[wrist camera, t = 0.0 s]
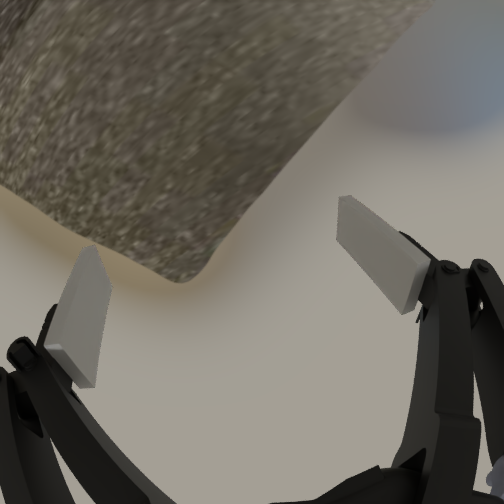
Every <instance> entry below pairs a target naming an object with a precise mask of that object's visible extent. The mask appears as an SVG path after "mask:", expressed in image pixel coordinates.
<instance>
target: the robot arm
mask: <svg viewBox="0 0 504 504" xmlns="http://www.w3.org/2000/svg"><path fill="white" fill-rule="evenodd" d="M336 240H337V241H338V242H339V243H340V245H341V246H342V247H343V248H344V249H345V250H346V251H347V252H348V253H349V254H350V255H351V257H352V258H353V259H354V260H355V261H356V262H357V263H358V264H359V266H360V267H361V268H362V269H363V270H364V271H365V272H366V273H367V274H368V276H369V277H370V278H371V279H372V280H373V282H374V283H375V284H376V285H377V286H378V287H379V288H380V290H381V291H382V292H383V293H384V294H385V295H386V297H387V298H388V299H389V300H390V301H391V303H392V304H393V305H394V306H395V307H396V309H397V310H398V311H399V312H400V314H401V315H403V314H406V313H408V312H410V311H413V310H414V309H415V306H416V303H417V301H418V300H419V301H420V302H421V303H422V304H423V305H422V307H421V310H420V312H419V315H418V318H417V320H416V323H418V321H419V319H420V328H419V341H418V352H417V362H416V370H415V378H414V385H413V391H412V398H411V403H410V408H409V414H408V418H407V423H406V428H405V432H404V436H403V440H402V444H401V446H400V448H399V450H398V452H397V453H396V455H395V458H394V460H393V463H392V466H391V468H383V469H380V467H379V465H377V466H375V467H373V468H371V469H368V470H366V471H364V472H362V473H360V474H357V475H355V476H353V477H351V478H348V479H346V480H345V481H343V482H342V483H340V484H339V485H337V486H336V487H334V488H333V489H331V490H330V491H328V492H327V493H325V494H323V495H322V496H320V497H318V498H317V499H314V500H309V501H298V502H280V503H270V504H504V285H503V283H502V281H501V279H500V278H499V276H498V275H497V273H496V271H495V269H494V268H493V266H492V265H491V264H490V263H488V262H487V261H485V260H483V259H474V260H473V261H472V264H471V266H470V268H468V269H461V268H460V267H459V266H458V265H457V264H455V263H454V262H451V261H448V260H441V261H439V260H437V259H436V258H435V257H434V256H433V255H432V254H430V253H429V252H428V251H427V250H426V249H425V248H423V247H421V245H420V244H419V243H418V242H416V241H415V240H414V239H413V238H411V237H410V236H409V235H407V234H405V233H403V232H401V231H399V232H398V231H397V230H395V229H394V228H393V227H391V226H390V225H389V224H388V223H387V222H385V221H384V220H383V219H382V218H380V217H379V216H378V215H376V214H375V213H374V212H373V211H371V210H370V209H369V208H367V207H366V206H365V205H363V204H362V203H361V202H359V201H357V199H355V198H354V197H352V196H351V195H348V196H342V197H339V205H338V224H337V238H336ZM111 291H112V284H111V282H110V280H109V277H108V275H107V273H106V271H105V268H104V266H103V264H102V261H101V259H100V256H99V254H98V251H97V249H96V246H95V245H92V246H88V247H84V248H83V249H82V250H81V253H80V254H79V257H78V259H77V261H76V263H75V265H74V267H73V270H72V272H71V274H70V276H69V279H68V281H67V283H66V286H65V288H64V290H63V293H62V295H61V298H60V300H59V303H58V304H54V305H53V306H52V308H51V309H50V310H49V312H48V313H47V316H46V318H45V323H44V324H43V326H42V330H41V332H40V335H39V338H38V340H37V343H36V346H35V345H34V344H33V343H32V342H31V340H30V339H29V338H28V337H25V336H24V337H20V338H18V339H16V340H15V341H14V342H13V343H12V344H11V345H10V347H9V349H8V351H7V360H8V361H9V362H10V363H11V364H12V365H13V366H14V368H16V371H13V372H11V373H8V372H7V371H6V370H5V369H4V368H3V367H0V486H1V490H2V493H3V497H4V500H5V503H6V504H75V502H74V500H73V498H72V495H71V493H70V491H69V489H68V486H67V484H66V482H65V479H64V477H63V474H62V472H61V469H60V466H59V464H58V461H57V458H56V455H55V453H54V449H53V446H52V443H51V440H52V442H53V443H54V445H55V447H56V448H57V450H58V452H59V453H60V455H61V456H62V458H63V459H64V461H65V463H66V464H67V466H68V467H69V469H70V470H71V472H72V473H73V474H74V476H75V477H76V479H77V480H78V481H79V483H80V484H81V485H82V487H83V488H84V490H85V491H86V492H87V493H88V495H89V496H90V497H91V498H92V500H93V501H94V502H95V503H96V504H176V503H175V502H174V501H173V500H172V499H170V498H169V497H168V496H167V495H166V494H164V493H163V492H162V491H161V490H160V489H159V488H158V487H157V486H155V485H154V484H153V483H152V482H151V481H150V480H149V479H148V478H147V477H146V476H145V475H144V474H143V473H142V472H141V471H140V470H139V469H138V468H137V467H136V466H135V465H134V464H133V463H132V462H131V461H130V460H129V459H128V458H127V457H126V456H125V454H124V453H123V452H122V451H121V450H120V449H119V448H118V447H117V446H116V445H115V443H114V442H113V441H112V440H111V439H110V437H109V436H108V435H107V434H106V433H105V432H104V430H103V429H102V428H101V427H100V425H99V424H98V423H97V422H96V420H95V419H94V418H93V416H92V415H91V414H90V413H89V411H88V410H87V408H86V407H85V406H84V404H83V403H82V401H81V400H80V399H79V397H78V396H77V394H76V393H75V392H74V391H73V390H72V389H71V387H72V382H74V383H75V384H76V385H77V386H78V387H79V388H95V383H96V374H97V367H98V359H99V353H100V347H101V341H102V335H103V330H104V324H105V319H106V314H107V309H108V305H109V300H110V296H111ZM481 302H483V309H481V307H480V304H481ZM474 374H475V378H476V382H477V387H478V391H479V396H480V401H481V406H482V412H483V418H484V425H485V432H486V440H487V446H488V452H489V456H490V460H491V463H492V467H493V469H492V471H491V472H490V473H489V474H488V475H487V477H486V483H487V485H488V486H492V489H491V493H490V494H487V493H483V492H479V491H475V490H473V485H474V481H475V475H476V470H477V463H478V456H479V449H480V439H481V422H480V420H479V419H478V418H475V417H474V416H473V399H474V398H473V397H474V395H473V394H474ZM49 436H50V437H49ZM50 438H51V440H50Z"/></svg>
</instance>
